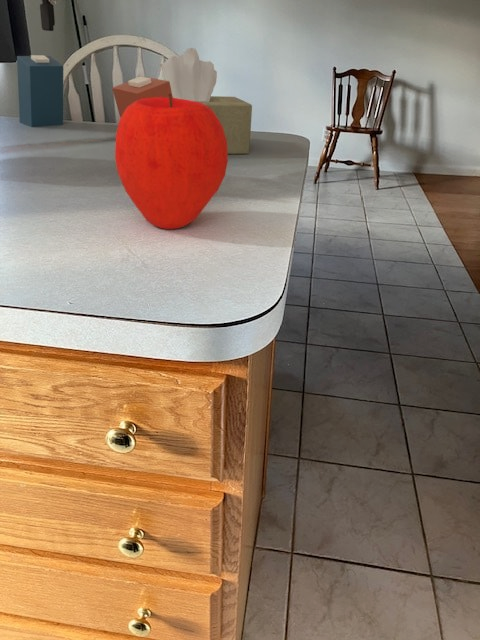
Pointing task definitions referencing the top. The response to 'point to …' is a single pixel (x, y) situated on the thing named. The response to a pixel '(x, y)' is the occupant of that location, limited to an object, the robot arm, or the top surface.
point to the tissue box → (210, 97)
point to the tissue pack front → (139, 91)
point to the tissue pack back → (40, 90)
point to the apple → (170, 158)
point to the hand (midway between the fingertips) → (20, 28)
